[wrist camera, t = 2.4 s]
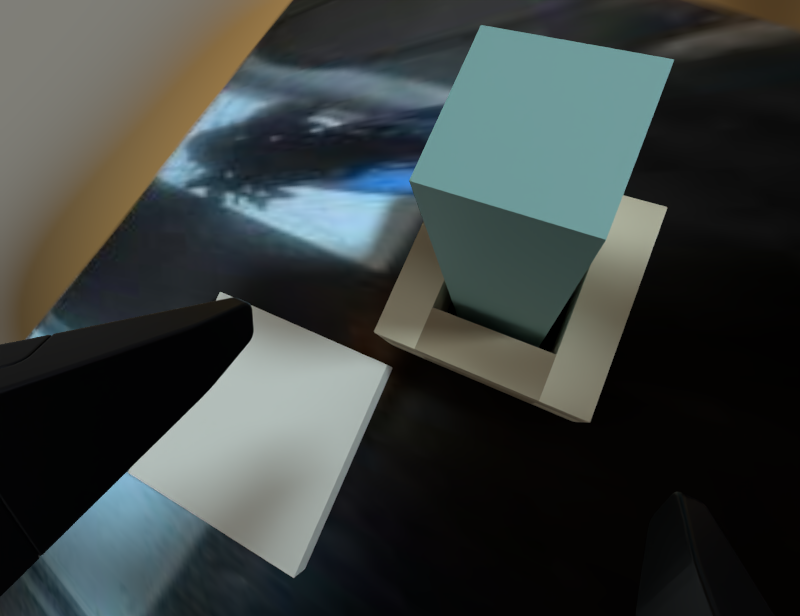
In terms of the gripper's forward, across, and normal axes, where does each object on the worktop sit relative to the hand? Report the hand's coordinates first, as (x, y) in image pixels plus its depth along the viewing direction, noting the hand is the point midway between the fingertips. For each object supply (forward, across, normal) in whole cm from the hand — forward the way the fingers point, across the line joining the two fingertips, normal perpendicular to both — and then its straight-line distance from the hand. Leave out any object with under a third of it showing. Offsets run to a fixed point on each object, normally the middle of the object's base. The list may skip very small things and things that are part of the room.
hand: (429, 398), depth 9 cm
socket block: (+13, 0, +4) cm, 14 cm away
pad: (+5, +9, +12) cm, 16 cm away
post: (+13, 0, +4) cm, 14 cm away
